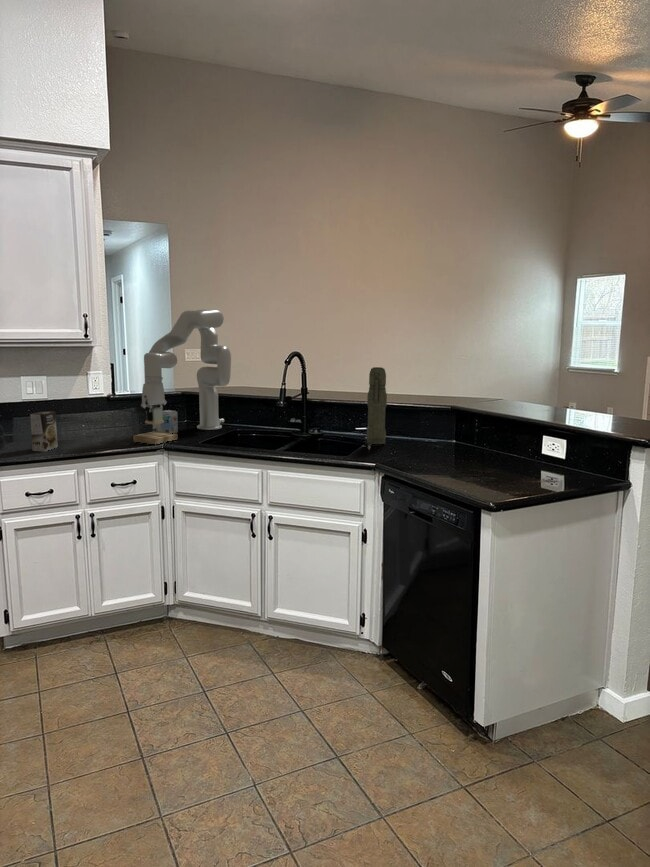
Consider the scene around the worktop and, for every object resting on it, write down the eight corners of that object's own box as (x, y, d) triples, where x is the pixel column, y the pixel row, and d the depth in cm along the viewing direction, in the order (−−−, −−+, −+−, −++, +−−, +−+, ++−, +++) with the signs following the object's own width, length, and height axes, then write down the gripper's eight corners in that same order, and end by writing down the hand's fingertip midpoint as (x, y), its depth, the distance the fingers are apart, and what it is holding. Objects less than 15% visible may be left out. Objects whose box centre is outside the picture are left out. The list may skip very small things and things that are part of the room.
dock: (156, 437, 306) (156, 430, 306) (177, 440, 299) (177, 434, 299) (133, 442, 295) (133, 435, 294) (155, 445, 287) (155, 438, 287)
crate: (155, 421, 299) (154, 406, 298) (164, 422, 296) (163, 407, 295) (145, 423, 294) (144, 407, 293) (154, 424, 291) (154, 408, 290)
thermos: (366, 445, 291) (368, 368, 285) (365, 440, 303) (367, 366, 296) (386, 446, 291) (388, 369, 285) (384, 441, 303) (386, 366, 296)
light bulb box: (161, 435, 311) (160, 413, 309) (152, 434, 315) (151, 412, 313) (178, 432, 319) (177, 411, 317) (169, 431, 323) (169, 409, 321)
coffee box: (45, 451, 273) (42, 414, 270) (32, 451, 274) (29, 413, 271) (58, 447, 281) (56, 411, 278) (45, 446, 283) (42, 410, 280)
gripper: (161, 378, 301) (162, 416, 304) (132, 381, 286) (134, 421, 290) (172, 379, 297) (173, 418, 300) (144, 382, 283) (146, 423, 286)
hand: (154, 419), depth 295 cm, fingers closed on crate, 5 cm apart
